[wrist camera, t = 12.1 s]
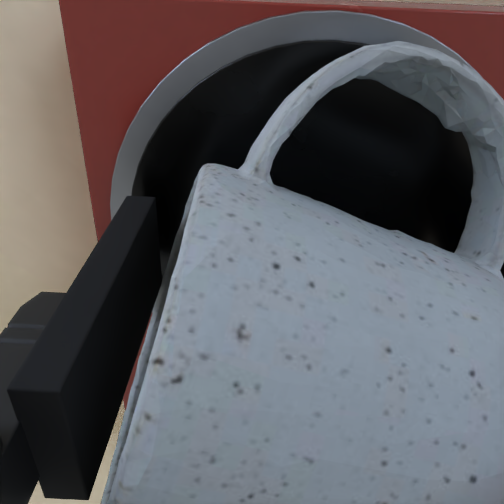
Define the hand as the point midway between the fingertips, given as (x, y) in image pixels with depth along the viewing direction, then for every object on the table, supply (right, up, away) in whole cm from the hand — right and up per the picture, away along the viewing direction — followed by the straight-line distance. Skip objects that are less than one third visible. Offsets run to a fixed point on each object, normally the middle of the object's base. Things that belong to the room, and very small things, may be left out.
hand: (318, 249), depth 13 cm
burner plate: (0, +1, +1) cm, 1 cm away
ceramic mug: (0, 0, 0) cm, 0 cm away
